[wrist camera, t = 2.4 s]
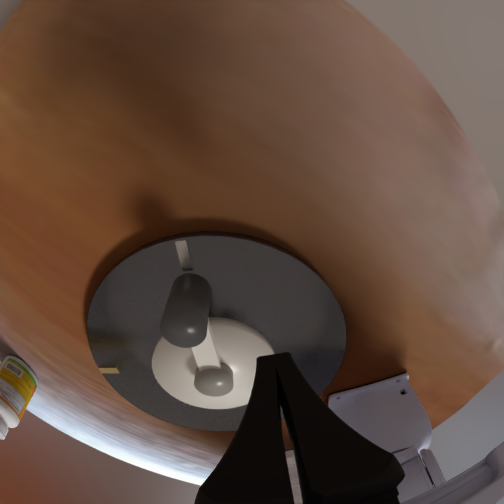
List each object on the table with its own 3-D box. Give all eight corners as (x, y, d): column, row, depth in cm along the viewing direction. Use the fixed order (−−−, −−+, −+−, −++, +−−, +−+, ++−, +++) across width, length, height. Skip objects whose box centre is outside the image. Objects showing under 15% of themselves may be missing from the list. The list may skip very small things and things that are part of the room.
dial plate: (345, 210, 19) (351, 214, 18) (335, 406, 28) (337, 414, 27) (53, 257, 19) (46, 263, 18) (144, 426, 28) (142, 433, 27)
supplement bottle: (21, 385, 25) (-6, 439, 16) (-2, 354, 23) (-37, 407, 14) (46, 387, 25) (18, 448, 16) (21, 353, 23) (-16, 414, 14)
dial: (279, 393, 24) (287, 433, 20) (174, 403, 24) (169, 442, 20) (263, 259, 19) (273, 297, 15) (120, 280, 19) (96, 318, 14)
